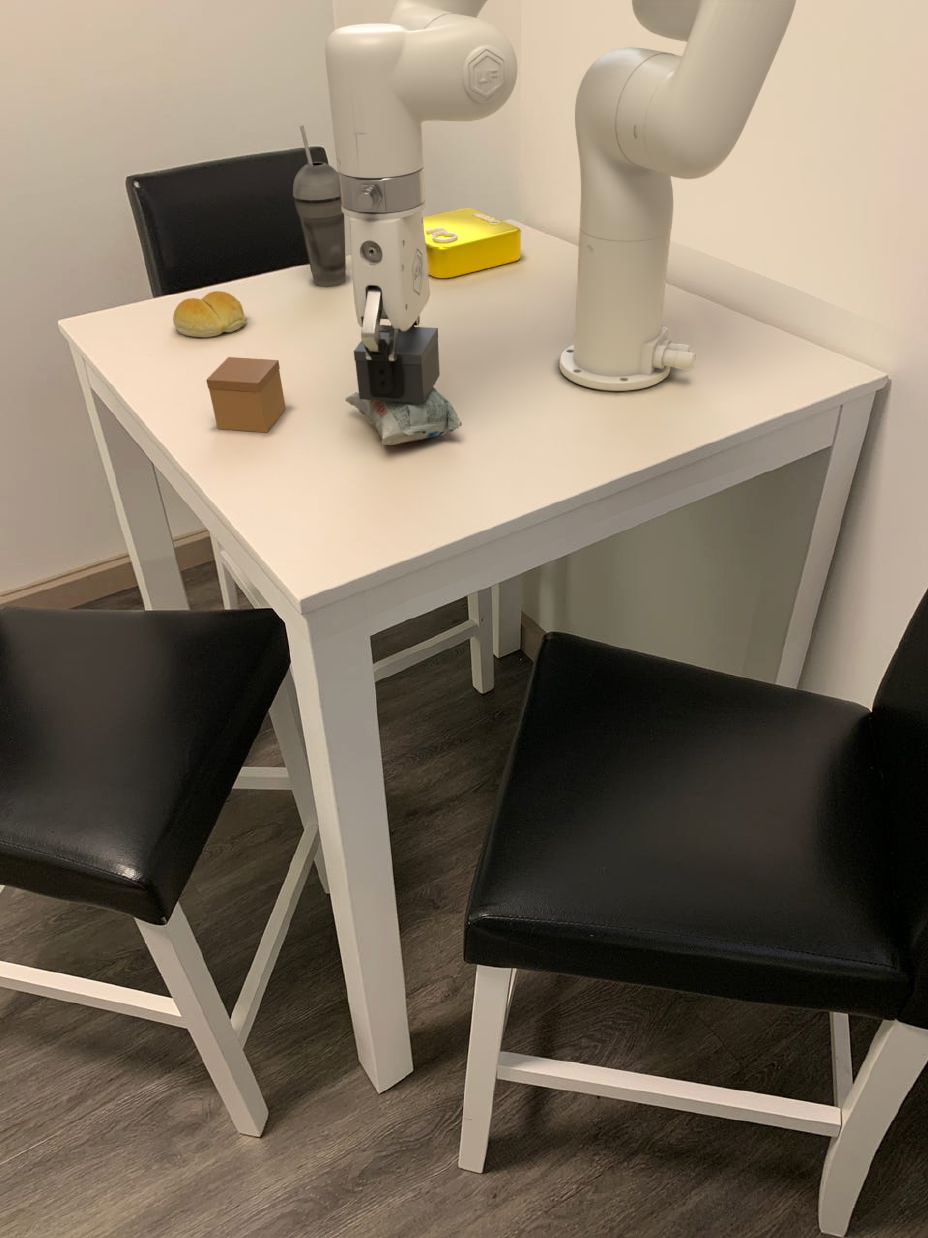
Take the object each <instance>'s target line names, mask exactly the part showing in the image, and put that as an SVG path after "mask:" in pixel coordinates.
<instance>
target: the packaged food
mask: <svg viewBox="0 0 928 1238" xmlns="http://www.w3.org/2000/svg"><path fill="white" fill-rule="evenodd" d="M345 402H347V403H348V404H350V406H353V407H355V408H356V409H357V410H358V412H359V413H360V414H361V415H363V416H364V417H365V418H366V419H367V420H368V421H369V422H371V424H372V426H373V427H375V429H376V431H377V432H378V435H379V436H380V438H381V444H382V445H383V446H386V445H388V446H393V445H400V444H405V443H411V442H415V441H421V440H426V439H431V438H434V437H435V438H436V437H441V436H446V435H447V434H450V433H452V432H454V430H456V429H459V428H460V427H462V426H463V423H462V421H461V420H460V417H459V416H458V414H457V412H456V410H455V408H454V406H453V405H452V402H451V401H449V400H448V399H447V398H446V397H444V396H443V395H442V394H441V393H439V392H438V390H437V389H436V388H435V387H434V386H433V388H432V390H431V392H430V394H429V395H428V397H427V399H426V401H425V403H424V404H421V403H407V402H393V401H378V400H364V399H359V392H354V393H353V394H352V395H347V396H346V397H345Z"/></svg>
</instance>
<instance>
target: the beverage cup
mask: <svg viewBox="0 0 928 1238" xmlns="http://www.w3.org/2000/svg"><path fill="white" fill-rule="evenodd" d="M299 128H300V129H299V130H300V133H301V137H302V142H303V146H304V151H305V154H306V158H307V159H306V160H307V164H304V165H303V166H302V167H301V168H300V169H299V170H298V171H297V173H296V175H295V177H294V180H293V185H292V200H293V202H294V206H295V210H296V212H297V215H298V216H299V223H300V227H301V231H302V235H303V240H304V245H305V250H306V253H307V259H308V263H309V267H310V272H311V274H312V278H313V284H314V285H316V286H317V287H324V288H329V287H330V288H331V287H337V286H340V285H343V284H344V283H346V281H347V280H346V270H347V264H346V263H347V261H346V259H347V258H346V231H345V229H346V227H345V225H346V224H345V214H344V213H343V212H342V209H341V199H340V190H339V180H338V170H336V169H335V168H334V167H333V166H332V165H329V164H328V163H326V162H324V161H313V159H312V155H311V152H310V147H309V143H308V138H307V134H306V130H305V125H300V126H299Z"/></svg>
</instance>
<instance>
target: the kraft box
mask: <svg viewBox="0 0 928 1238" xmlns="http://www.w3.org/2000/svg"><path fill="white" fill-rule="evenodd" d="M280 368H281V367H280V362H279V360H278V359H266V358H250V357H249V358H248V357H236V356H235V357H234V356H227V358H226V359H225V360H223V362H222V363H221V364H219V366H218V367H217V368H216V369H215V370H214V371H213V372H212V373H211V374H210V375H209V376H208V377H207V378H206V380H205V381H206V386H207V389H208V392H209V395H210V400H211V404H212V410H213V415H214V419H215V423H216V428H217V429H218V430H227V431H240V432H241V431H242V432H253V433H265V434H266V433H269V431H270V430H271V428H272V427H273V426H274V425H275V423H276V422H277V420H278V419H279V418H280V417H281V416H282V415H283V413H284V412H285V410H286V409H287V408H286V401H285V396H284V389H283V382H282V377H281V371H280Z"/></svg>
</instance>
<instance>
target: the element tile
mask: <svg viewBox="0 0 928 1238" xmlns="http://www.w3.org/2000/svg"><path fill="white" fill-rule="evenodd" d="M422 217H423V224H424V232H425V241H426V251H427V262H428V272H429V276H431V277H433V278H435V279H452V278H455V277H460V276H463V275H467V274H472V273H475V272H479V271H483V270H487V269H491V268H496V267H499V266H503V265H507V264H511V263H515V262H517V261H519V260H520V258H521V253H522V251H521V250H522V249H521V248H522V230H521V228H520V227H519V226H516V225H514V224H511V223H509V222H506V221H504V220H501V219H500V218H497V217H494V216H492V215H489V214H487V213H485V212H483V211H480V210H478V209H474V208H472V207H464V208H463V207H462V208H459V209H455V210H449V211H444V212H440V213H436V214H431V215H426V216H422Z"/></svg>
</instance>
